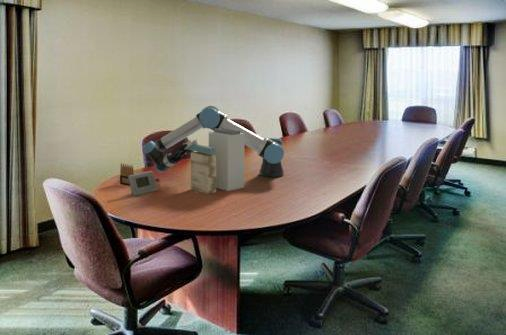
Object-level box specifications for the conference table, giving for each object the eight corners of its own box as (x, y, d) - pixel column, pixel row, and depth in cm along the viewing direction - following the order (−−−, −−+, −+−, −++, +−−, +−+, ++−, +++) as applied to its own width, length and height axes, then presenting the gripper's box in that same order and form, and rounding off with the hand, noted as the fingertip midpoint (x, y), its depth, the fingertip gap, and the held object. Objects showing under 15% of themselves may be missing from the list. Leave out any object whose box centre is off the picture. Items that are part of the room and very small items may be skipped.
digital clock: (132, 197, 229) (132, 176, 227) (124, 193, 235) (123, 173, 233) (161, 192, 239) (160, 172, 237) (152, 188, 246) (152, 169, 244)
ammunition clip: (135, 186, 251) (134, 164, 249) (132, 186, 250) (131, 165, 247) (122, 183, 257) (121, 162, 254) (119, 183, 255) (118, 163, 253)
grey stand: (225, 182, 263) (225, 127, 256) (244, 187, 252) (244, 129, 245) (208, 185, 254) (208, 128, 248) (227, 191, 243) (228, 131, 237)
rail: (187, 147, 251) (187, 142, 251) (215, 153, 235) (215, 148, 234) (182, 148, 249) (182, 143, 249) (210, 154, 233) (210, 148, 232)
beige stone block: (199, 187, 251) (199, 151, 247) (216, 192, 241) (216, 155, 237) (191, 188, 247) (190, 152, 242) (207, 194, 237) (207, 156, 233)
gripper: (185, 162, 266) (207, 147, 249) (162, 166, 255) (183, 150, 238) (181, 150, 267) (203, 134, 250) (158, 153, 256) (179, 137, 239)
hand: (193, 142), depth 244 cm, fingers closed on rail, 3 cm apart
